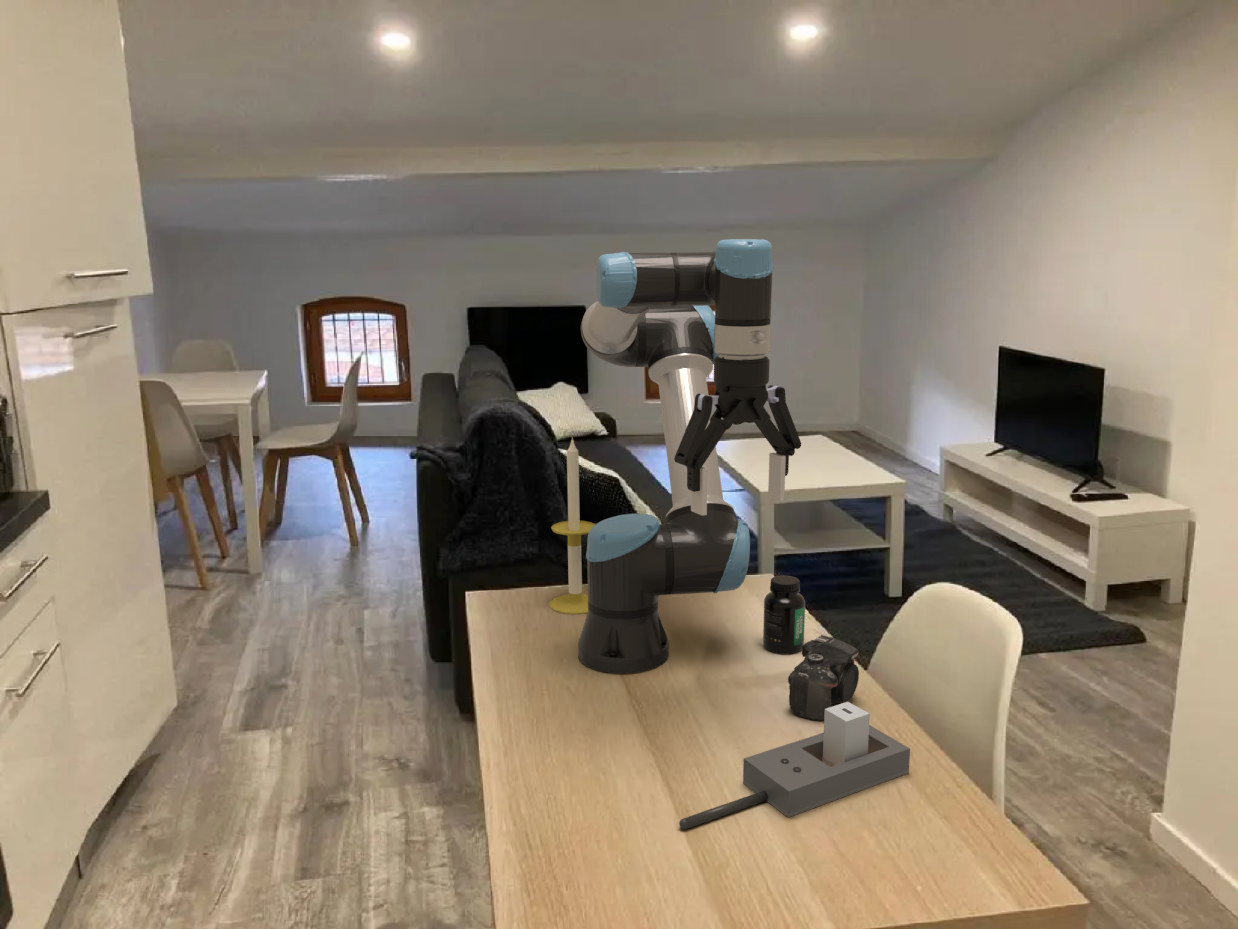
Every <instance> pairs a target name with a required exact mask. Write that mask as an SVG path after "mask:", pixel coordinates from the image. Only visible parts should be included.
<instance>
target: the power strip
mask: <svg viewBox="0 0 1238 929" xmlns="http://www.w3.org/2000/svg"><path fill="white" fill-rule="evenodd" d="M823 739H824V732H821V733H818V734H815V735H812V736H811V735H810V736H809V737H806V738H802V739H799V740H796V741H793V742H789V743H787V744H784V745H781V746H778V747H775V748H772V749H769V750H766V751H762V752H759V753H757V754H756V753H755V754H753V755H751V756H748V757H747V756H746V757H744V758H743V765H742V768H743V774H742V783H743V785H745V786H746V787H747V788H748V789H750V790H751V791H752V792H754V793H753V794H750V795H747V796H744V797H742V798H738V799H736V800H733V801H732V800H731V801H730V802H727V803H724V804H721V805H718V806H716V807H712V808H710V809H707V810H704V811H701V812H697V813H696V814H692V815H689V816H686V817H684V818H683V817H682V818H681V819H680V820H679V823H678V826H679V827H680V829H682V830H687V829H691V828H693V827H695V826H698V825H701V824H704V823H707V822H709V821H710V822H711V821H712V820H715V819H716V820H717V819H718V818H721V817H724V816H727V815H729V814H733V813H735V812H738V811H741V810H743V809H747V808H749V807H752V806H754V805H758V804H761V803H763V802H767V803H768V804H770V805H771V806H772V807H774V808H775V809H776V810H777V811H779V812H781V813H782V814H783V815H784V816H785V817H787V818H790V817H793V816H795V815H799V814H801V813H804V812H806V811H810V810H812V809H814V808H818V807H821V806H823V805H825V804H828V803H831V802H835V801H836V800H840V799H842V798H845V797H849V796H850V795H852V794H856V793H857V792H861V791H864V790H866V789H870V788H872V787H874V786H877V785H880V784H883V783H886V782H888V781H891V780H893V779H896V778H899V777H902V776H905V775H908V774H909V772H910V757H911V748H910V747H909V746H907V745H905V744H904V743H902V742H900V741H898V740H896V739H894V738H893V737H891V736H889V735H887V734H886V733H884V732H882V731H881V730H880V729H877V728H876V727H874V726H872V725H870V724H869V738H868V754H867V755H864V756H861V757H859V758H856V759H853V760H850V761H847V762H844V763H841V764H838V765H836V766H833V767H829V766H828V765H826V764H825V763H823V761H822V757H823Z"/></svg>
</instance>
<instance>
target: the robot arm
mask: <svg viewBox="0 0 1238 929" xmlns="http://www.w3.org/2000/svg"><path fill="white" fill-rule="evenodd" d="M715 248H716V249H715V250H711V251H692V252H691V251H690V252H689V251H688V252H683V251H681V252H680V251H679V252H678V251H677V252H628V251H627V252H626V251H620V252H615V253H614V252H612V253H606V254H602V255H600V256H599V258H598V259H597V260H596V268H595V291H596V298H597V301H595V302H594V303H592V304H591V305H590V306H589V307H588V308H587V309H586V311H585V313H584V315H583V317H582V320H581V324H580V334H581V335H580V336H581V338H582V341H583V343H584V345H585V347H586V348H587V349H588V350H589V351H590V353H592V354H593V355H594V356H595V357H597V358H598V359H601V361H604V362H606V363H608V364H611V365H615V366H619V367H623V368H624V367H626V368H647V371H648V377H649V379H650V380H651V381H652V382H653V383H656V384H657V385H658V392H659V399H660V407H661V415H662V416H661V417H662V426H663V434H664V443H665V449H666V458H667V460H666V461H667V465H668V466H667V467H668V468H667V469H668V474H669V475H668V477H669V483H670V493H671V502H672V507H671V508H670V509H669V511H668V512H667V513H666V515H665V523H660V521H658V520H659V519H658V518H657V517H656V516H655V515H653V514H647V513H641V514H640V513H626V514H619V515H616V516H612V517H611V516H610V517H608V518H606V519H603V520H600V521H599V522H597V523H595V525H594V526H593V527H592V528H591V530H590V531H589V534H587V542H586V543H587V546H586V553H585V558H586V560H587V595H588V613H586V614H587V615H586V618H585V621H584V623H583V627H582V630H581V633H580V636H579V638H578V643H577V644H578V646H577V649H578V650H577V652H578V653H577V654H578V659H579V661H580V662H581V663H582V664H583V665H585V666H586V667H588V668H590V669H592V670H596V671H600V672H603V673H611V674H636V673H642V672H647V671H651V670H653V669H656V668H658V667H661V666H662V665H663V664H665V663H666V662H667V660H668V659H669V656H670V649H669V648H670V647H669V645H670V644H669V639H668V636H667V633H666V630H665V626H664V624H663V620H662V618H661V615H660V613H659V597H660V596H666V595H667V596H670V595H686V594H687V595H689V594H705V593H707V594H708V593H713V594H717V593H719V592H720V593H721V592H729V591H735V590H737V589H739V588H740V587H741V586H742V585H743V583H745V582H744V581H745V579H746V577H747V573H748V568H749V563H750V553H751V552H750V551H751V549H750V548H751V538H750V528H749V526H748V523H747V521H745V520H742V519H740V518H739V519H738V518H737V519H736V516H735V509H734V507H733V506H732V505H731V504H730V503H728V502H726V501H725V499H724V495H723V489H722V481H721V472H720V466H719V460H718V459H719V458H718V453H717V445H718V442H720V440H721V439H722V437H723V435H724V434H725V432H726V431H728V430H729V429H730V428H731V427H732V426H733V425H742V424H744V423H747V424H748V423H749V424H751V423H752V424H753V423H754V425H756V427H757V428H758V429H759V431H760V432H761V434H762V435H763V436H764V438H765V439H766V441H767V442H768V443H769V445H770V446H771V447H772V449H773V450H774V452H769V454H768V456H769V458H768V459H769V460H768V461H769V462H768V484H767V486H768V488H767V489H768V491H767V492H768V494H767V495H768V496H767V497H768V498H771V499H774V500H776V501H779V502H782V501H785V490H786V489H785V488H786V484H785V483H786V482H785V481H786V477H787V476H788V475H789V467H790V466H789V463H790V462H789V460H790V459H789V458H790V457H792V456H794V455H795V453H796V450H798V449H800V448H802V441H801V439H800V437H799V433H798V431H797V429H796V425H795V423H794V420H793V418H792V415H791V412H790V410H789V407H788V405H787V402H786V400H787V399H786V398H787V397H786V389H785V387H783V386H777V385H774V384H771V385H768V387H767V384H768V383H769V381H770V359H769V357H768V356H766V355H767V354H768V353H770V351H771V350H770V348H771V346H770V345H771V319H772V317H771V314H772V289H773V286H772V285H773V271H774V267H775V266H774V263H773V262H774V261H773V246H772V244H771V242H770V241H769V240H767V239H762V238H760V239H757V238H754V239H753V238H742V239H741V238H737V239H736V238H731V239H721V240H719V241H718V242H717V244H716V246H715ZM710 306H714V311H713V310H712V307H710ZM712 371H713V382H714V384H715V391H714V394H713V395H711V394H710V395H709V390H708V381H707V378H708V377H709V376H710V374H711V373H712ZM767 402H768V405H769V408H770V411H771V413H772V416H773V418H774V422H775V424H776V425H775V424H774V422H773V421H772V420H771V419H772V418H771V415H770V414H769V412H768V411H767V410H766V408H765V405H766V403H767ZM715 408H716V409H715ZM712 411H714V412H713V414H712Z"/></svg>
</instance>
